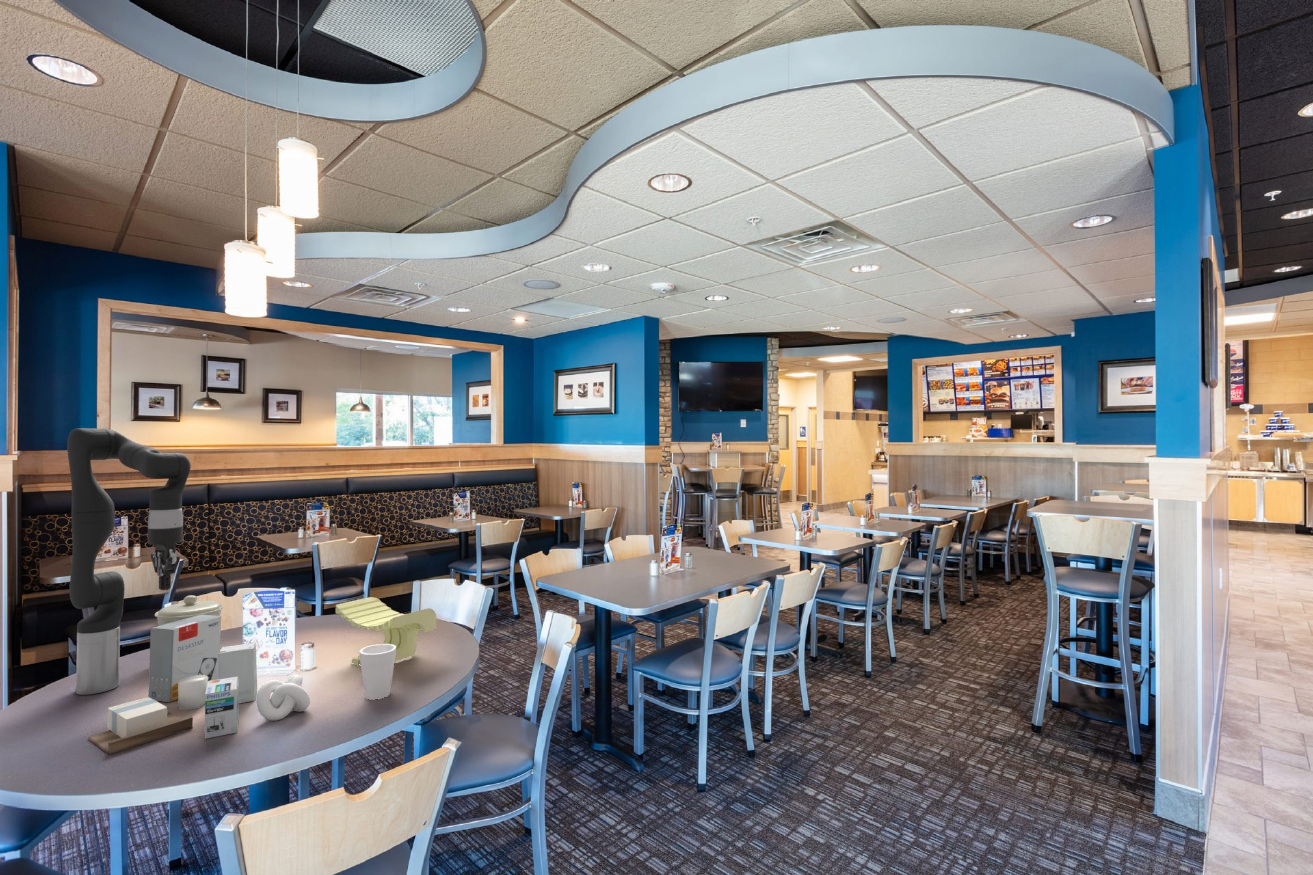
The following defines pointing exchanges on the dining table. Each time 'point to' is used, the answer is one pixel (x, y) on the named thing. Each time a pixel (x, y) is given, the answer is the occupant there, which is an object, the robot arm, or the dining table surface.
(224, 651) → the skincare box
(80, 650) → the robot arm
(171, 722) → the walnut display plinth
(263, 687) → the white knot sculpture
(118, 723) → the cream carton
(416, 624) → the slatted curved stool
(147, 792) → the dining table surface
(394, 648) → the foam cup
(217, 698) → the light bulb box
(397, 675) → the dining table surface
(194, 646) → the hard drive box
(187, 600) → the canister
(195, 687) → the white cylinder
